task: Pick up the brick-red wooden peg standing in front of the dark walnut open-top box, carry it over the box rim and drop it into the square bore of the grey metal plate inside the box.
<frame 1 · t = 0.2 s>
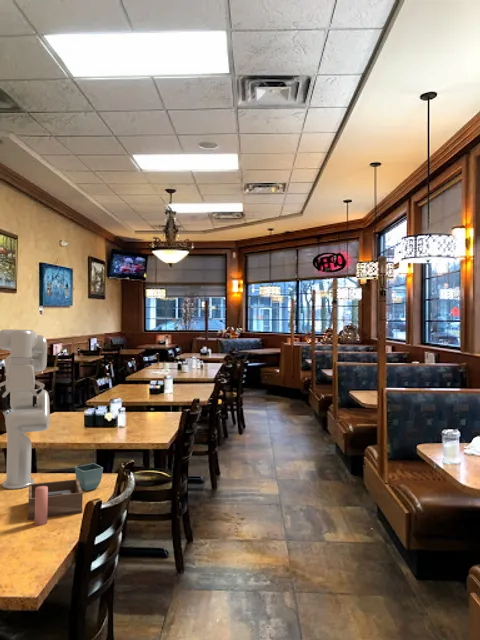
hand: (19, 407, 186), 37 cm above the table, tool pointing down, fingers open, 9 cm apart
flower pot: (88, 489, 204), on the table
open box: (54, 507, 182), on the table
peg: (40, 523, 167), on the table
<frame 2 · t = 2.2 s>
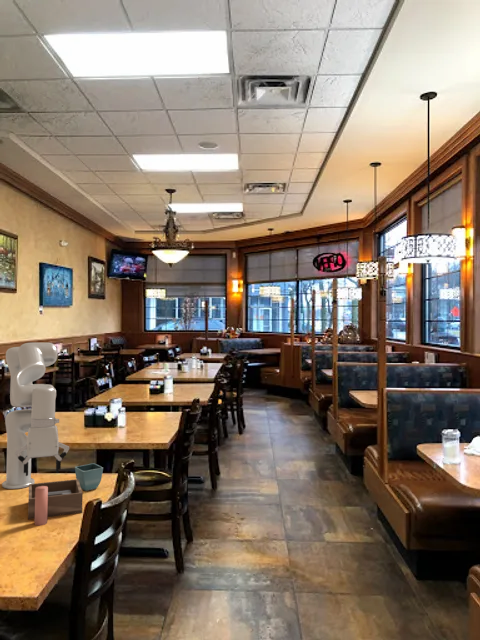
hand: (42, 473, 167), 17 cm above the table, tool pointing down, fingers open, 9 cm apart
nothing on the table moved.
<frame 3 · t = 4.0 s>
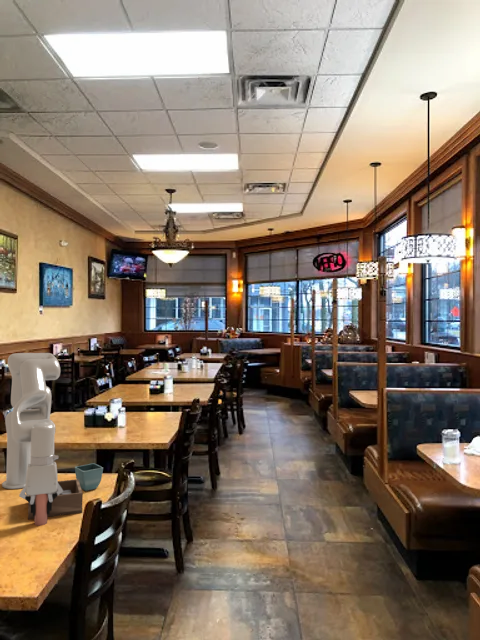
hand: (41, 513, 167), 3 cm above the table, tool pointing down, fingers closed on peg, 4 cm apart
peg: (40, 523, 167), on the table, touching gripper
everything else where it was.
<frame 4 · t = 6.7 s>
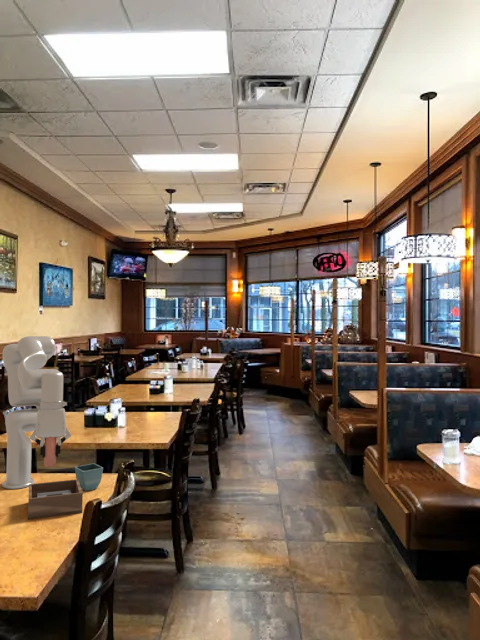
hand: (50, 455, 176), 21 cm above the table, tool pointing down, fingers closed on peg, 4 cm apart
peg: (49, 465, 176), point 17 cm above the table, touching gripper
everything else where it was.
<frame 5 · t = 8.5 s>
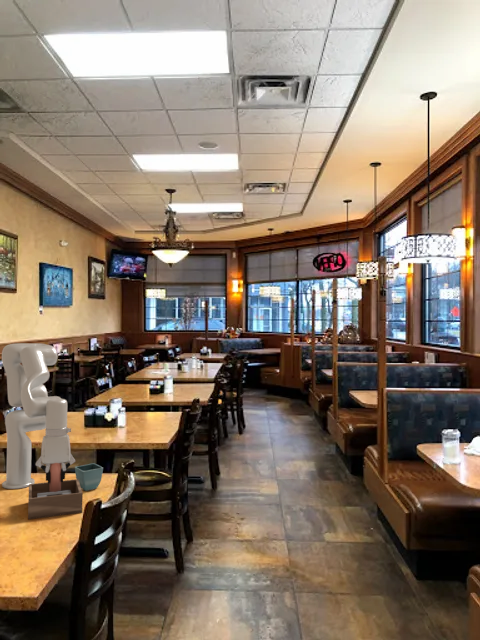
hand: (55, 481, 182), 10 cm above the table, tool pointing down, fingers closed on peg, 4 cm apart
peg: (55, 490, 182), point 6 cm above the table, touching gripper
everything else where it was.
when the fingers open (6 cm above the table, at t = 9.7 s): peg drops 1 cm, resting on open box.
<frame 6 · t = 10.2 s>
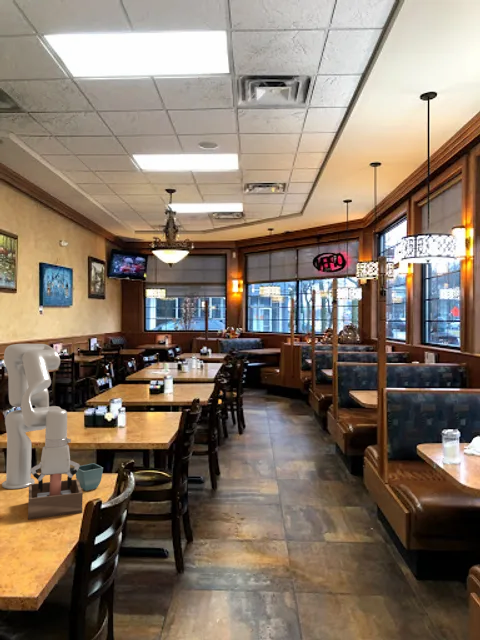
hand: (55, 489, 182), 7 cm above the table, tool pointing down, fingers open, 9 cm apart
peg: (54, 504, 182), point 1 cm above the table, touching open box
everything else where it was.
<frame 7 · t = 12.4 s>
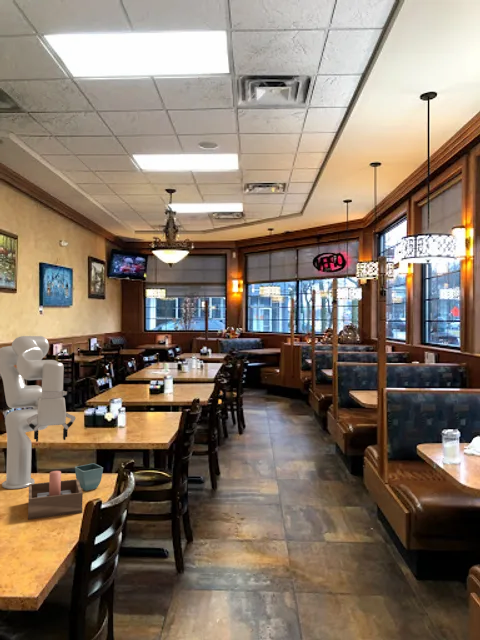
hand: (50, 440, 185), 24 cm above the table, tool pointing down, fingers open, 9 cm apart
nothing on the table moved.
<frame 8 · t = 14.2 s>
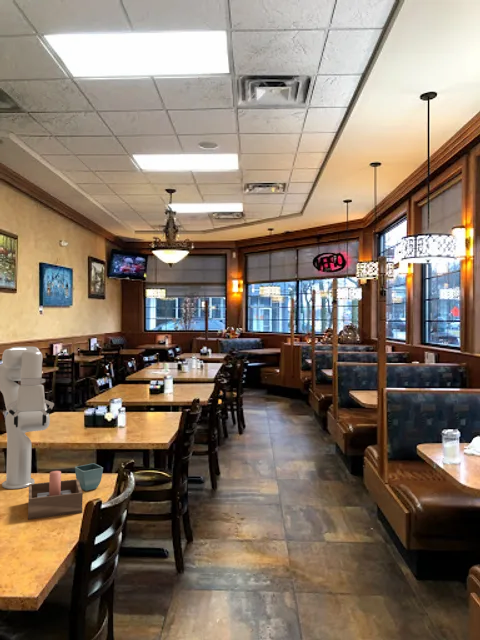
hand: (30, 425, 192), 28 cm above the table, tool pointing down, fingers open, 9 cm apart
nothing on the table moved.
at the end: peg 0.0 cm off-centre on the open box, point 1.0 cm above the open box's base; peg tilted 0°; the gripper is holding nothing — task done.
